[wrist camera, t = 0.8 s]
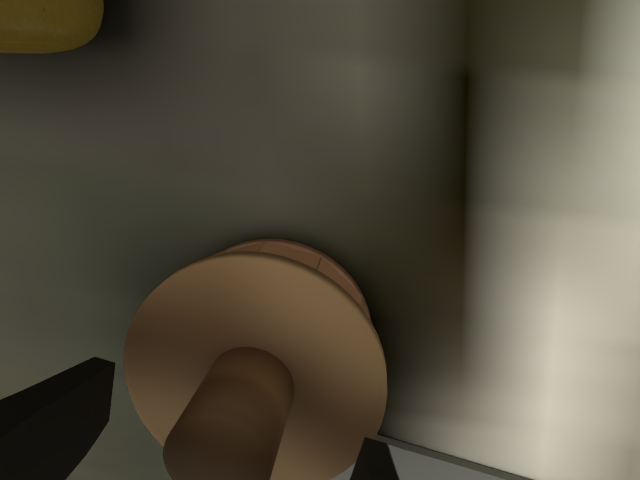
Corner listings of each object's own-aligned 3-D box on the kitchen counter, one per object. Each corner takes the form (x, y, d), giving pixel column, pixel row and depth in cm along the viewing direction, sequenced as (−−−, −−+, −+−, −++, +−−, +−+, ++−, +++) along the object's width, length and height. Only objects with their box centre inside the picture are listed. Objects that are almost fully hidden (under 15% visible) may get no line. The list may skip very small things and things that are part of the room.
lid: (347, 504, 16) (338, 625, 12) (123, 436, 16) (47, 533, 13) (422, 295, 13) (440, 369, 9) (150, 219, 14) (65, 262, 10)
